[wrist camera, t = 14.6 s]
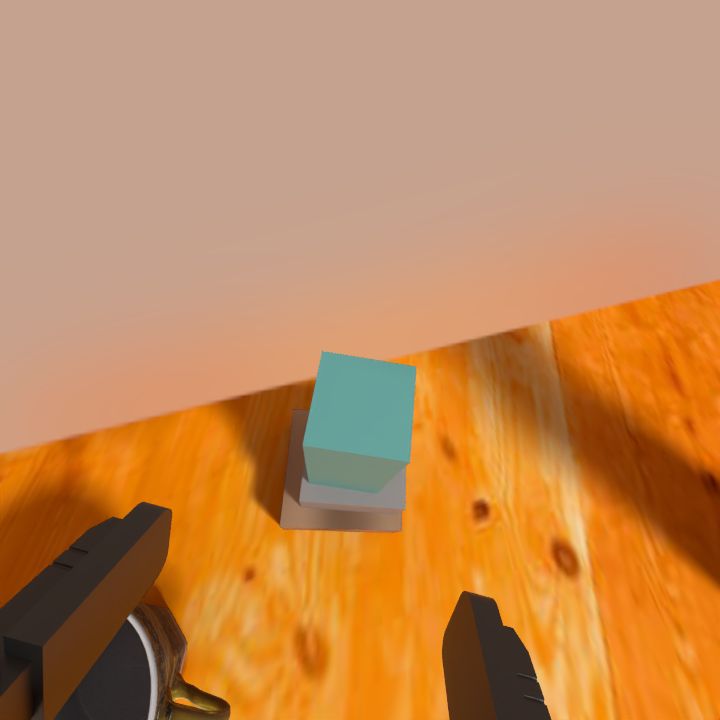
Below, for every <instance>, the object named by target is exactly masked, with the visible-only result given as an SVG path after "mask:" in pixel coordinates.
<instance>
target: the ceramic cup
mask: <svg viewBox="0 0 720 720" xmlns="http://www.w3.org/2000/svg"><path fill="white" fill-rule="evenodd" d="M186 650H187V641H186V639H185V637H184V635H183V634H182V632H181V630H180V628H179V626H178V624H177V623H176V621H175V619H174V617H173V615H172V614H171V612H170V610H169V609H167V608H164V607H157V606H151V605H146V604H143V603H141V602H139V603H138V605H137V606H136V607H135V609H134V610H133V611H132V613H131V614H130V615H129V617H128V618H127V620H126V621H125V622H124V624H123V625H122V626H121V628H120V629H119V630H118V632H117V633H116V635H115V636H114V637H113V639H112V640H111V641H110V643H109V644H108V645H107V647H106V648H105V650H104V651H103V652H102V654H101V655H100V656H99V658H98V659H97V660H96V662H95V663H94V665H93V666H92V667H91V669H90V670H89V671H88V673H87V674H86V675H85V677H84V678H83V679H82V681H81V682H80V684H79V685H78V686H77V688H76V689H75V690H74V692H73V693H72V694H71V696H70V697H69V699H68V700H67V701H66V703H65V704H64V705H63V707H62V708H61V709H60V711H59V712H58V714H57V715H56V716H55V718H54V719H53V720H229V717H230V705H229V704H228V703H227V702H226V701H225V700H223V699H222V698H219V697H217V696H214V695H211V694H209V693H206V692H204V691H202V690H199V689H198V688H196V687H195V686H194V685H191V684H189V683H186V682H185V681H184V679H183V678H182V676H181V671H182V667H183V662H184V658H185V654H186ZM179 698H182V699H186V700H189V701H190V702H191V703H193V704H194V705H195V706H197V707H199V708H202V709H199V708H195V707H191V706H187V705H183V704H178V703H175V702H174V700H176V699H179ZM203 709H204V710H203Z"/></svg>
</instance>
